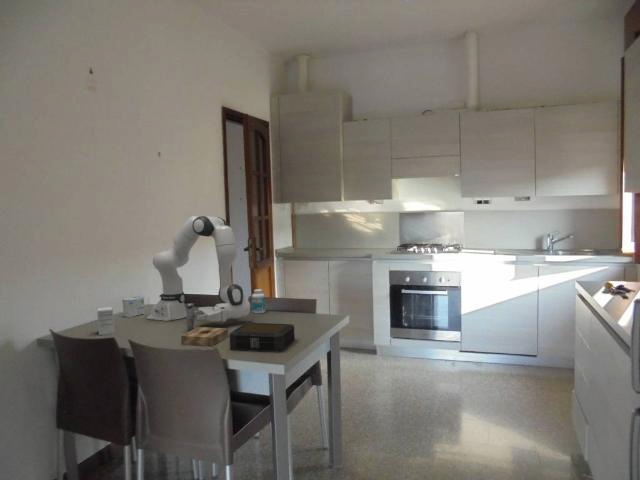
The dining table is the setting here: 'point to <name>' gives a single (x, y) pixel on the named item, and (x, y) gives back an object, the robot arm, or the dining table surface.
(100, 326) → the supplement box
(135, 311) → the light bulb box
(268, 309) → the dining table surface
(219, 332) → the block
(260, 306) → the pill bottle
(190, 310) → the steel pin
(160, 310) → the robot arm
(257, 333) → the cash box
